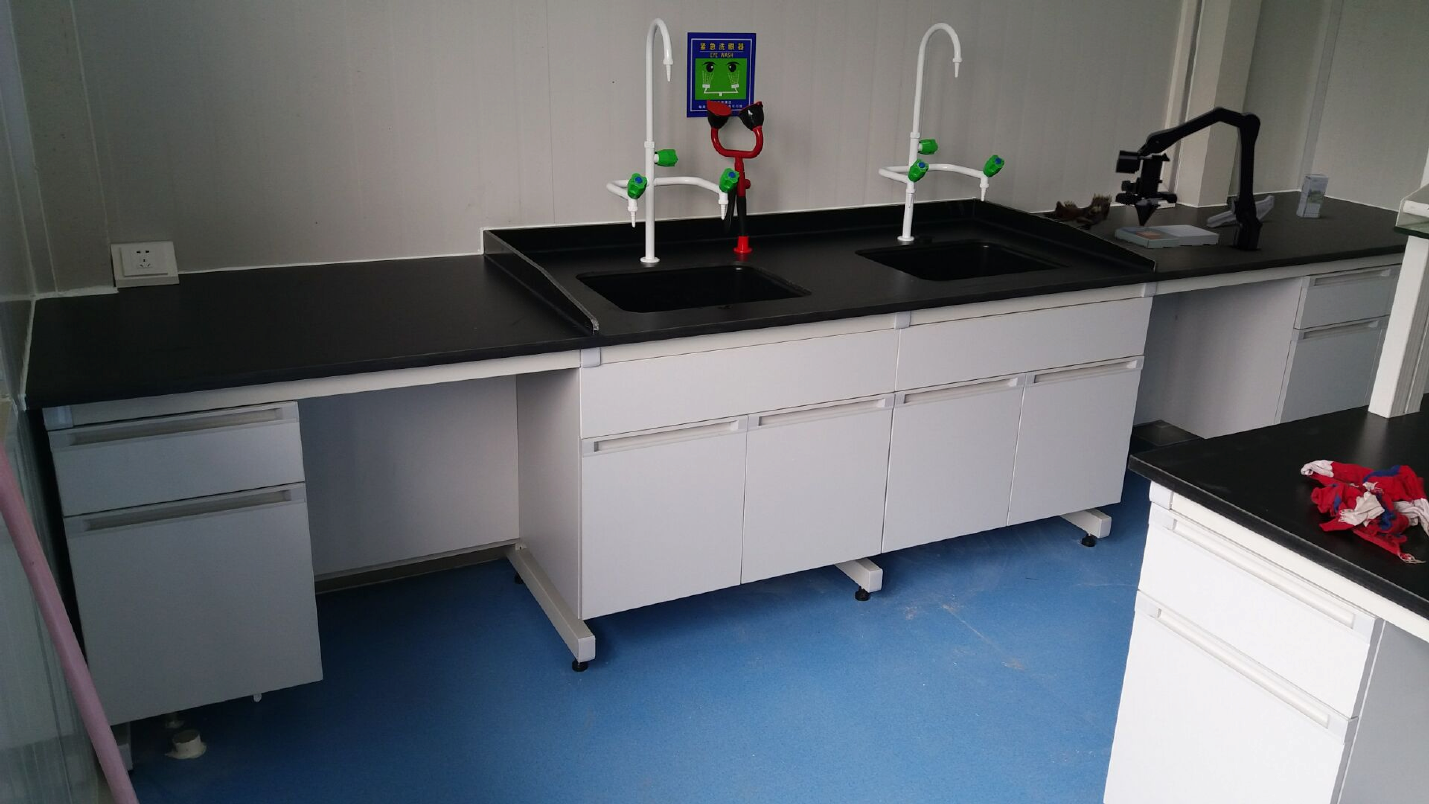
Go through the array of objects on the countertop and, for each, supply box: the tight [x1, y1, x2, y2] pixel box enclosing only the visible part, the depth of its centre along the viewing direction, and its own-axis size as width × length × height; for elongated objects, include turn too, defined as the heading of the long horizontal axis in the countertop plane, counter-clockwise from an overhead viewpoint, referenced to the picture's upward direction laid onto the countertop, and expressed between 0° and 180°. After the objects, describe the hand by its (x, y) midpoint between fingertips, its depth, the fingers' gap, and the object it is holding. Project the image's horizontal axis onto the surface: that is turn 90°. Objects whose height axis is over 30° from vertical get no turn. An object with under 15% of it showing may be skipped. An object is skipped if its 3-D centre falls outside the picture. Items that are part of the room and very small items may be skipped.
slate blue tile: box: [1121, 226, 1147, 235], centre depth 336 cm, size 5×5×2 cm
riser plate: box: [1147, 224, 1220, 247], centre depth 337 cm, size 14×15×3 cm
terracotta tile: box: [1136, 230, 1160, 240], centre depth 331 cm, size 5×5×2 cm
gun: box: [1206, 195, 1275, 229], centre depth 361 cm, size 2×30×8 cm, turn 118°
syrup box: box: [1295, 173, 1330, 219], centre depth 374 cm, size 6×6×14 cm
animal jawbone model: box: [1042, 192, 1113, 229], centre depth 357 cm, size 17×25×10 cm
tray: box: [1114, 227, 1179, 249], centre depth 333 cm, size 16×11×2 cm
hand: (1141, 225), depth 336 cm, fingers closed
